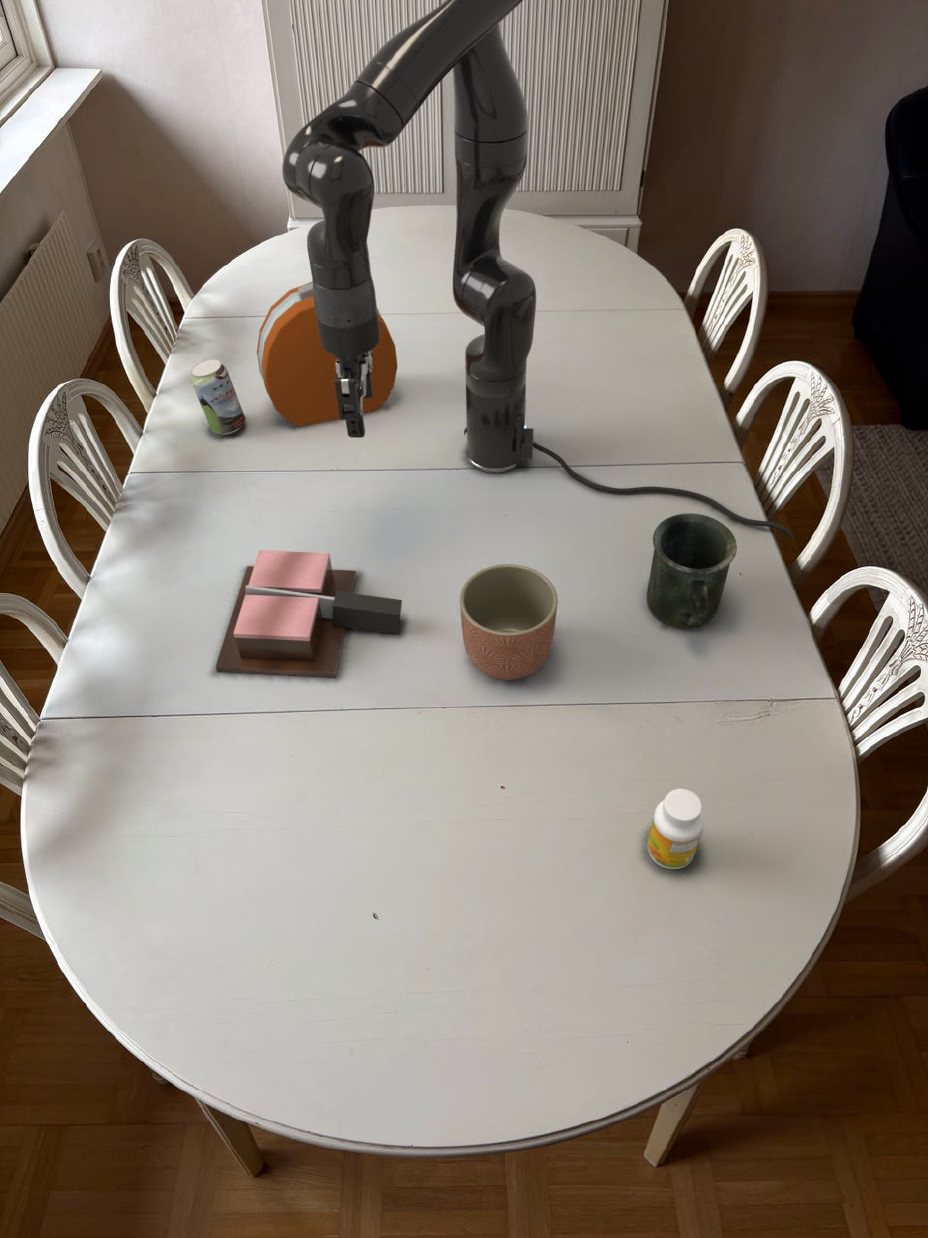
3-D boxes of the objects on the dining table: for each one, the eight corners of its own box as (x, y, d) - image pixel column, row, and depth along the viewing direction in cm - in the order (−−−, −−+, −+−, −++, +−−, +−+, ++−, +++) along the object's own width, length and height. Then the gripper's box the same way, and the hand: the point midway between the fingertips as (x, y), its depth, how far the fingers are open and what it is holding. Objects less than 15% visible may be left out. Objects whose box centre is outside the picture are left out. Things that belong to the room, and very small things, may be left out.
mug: (714, 574, 143) (729, 511, 134) (731, 652, 133) (749, 590, 125) (638, 575, 143) (648, 512, 134) (650, 652, 134) (662, 591, 125)
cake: (356, 575, 144) (352, 545, 140) (335, 677, 132) (329, 648, 127) (248, 570, 146) (240, 540, 141) (216, 671, 133) (207, 642, 128)
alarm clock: (386, 374, 178) (375, 254, 161) (401, 405, 172) (392, 284, 155) (264, 399, 174) (240, 279, 157) (275, 432, 167) (251, 310, 151)
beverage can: (239, 441, 166) (225, 379, 157) (198, 436, 167) (181, 375, 158) (252, 418, 170) (239, 357, 161) (211, 413, 171) (196, 353, 162)
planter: (447, 636, 136) (444, 580, 128) (529, 608, 139) (531, 552, 131) (484, 702, 129) (483, 647, 120) (569, 671, 132) (575, 616, 124)
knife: (400, 619, 139) (402, 599, 136) (397, 634, 137) (399, 615, 134) (249, 598, 138) (247, 578, 135) (244, 613, 136) (243, 593, 133)
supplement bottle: (642, 830, 116) (652, 784, 108) (688, 826, 116) (701, 780, 109) (652, 872, 112) (663, 828, 105) (699, 868, 112) (714, 824, 105)
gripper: (369, 341, 117) (382, 450, 129) (383, 277, 126) (394, 384, 138) (306, 341, 117) (325, 449, 130) (324, 277, 127) (341, 384, 139)
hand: (361, 415), depth 134 cm, fingers open, 8 cm apart
